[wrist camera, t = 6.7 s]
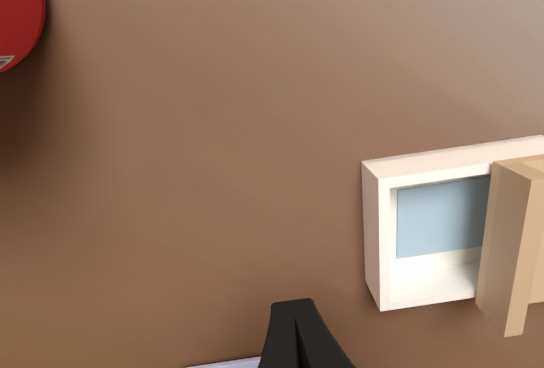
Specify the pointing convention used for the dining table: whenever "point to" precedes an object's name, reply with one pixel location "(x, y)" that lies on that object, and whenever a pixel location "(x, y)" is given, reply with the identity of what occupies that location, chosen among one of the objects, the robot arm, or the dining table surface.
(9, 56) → the canned food
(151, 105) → the dining table surface
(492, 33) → the dining table surface
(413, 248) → the box
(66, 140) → the dining table surface
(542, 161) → the lid
